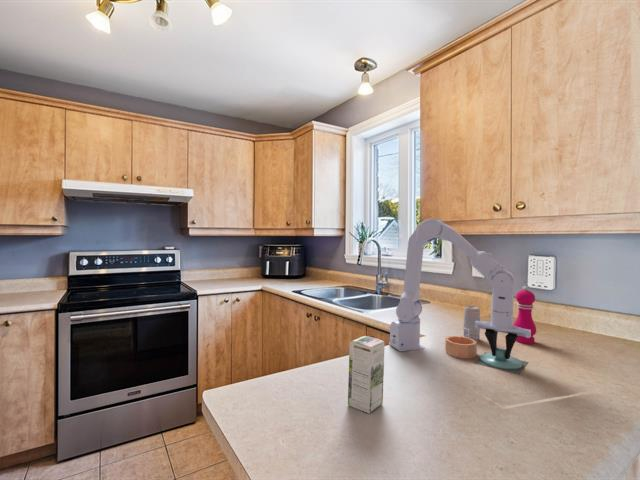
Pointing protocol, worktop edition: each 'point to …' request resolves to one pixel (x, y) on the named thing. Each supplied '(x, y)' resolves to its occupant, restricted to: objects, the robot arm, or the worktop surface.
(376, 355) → the syrup box
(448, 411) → the worktop surface
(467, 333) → the energy drink
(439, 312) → the worktop surface
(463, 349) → the bowl
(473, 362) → the mat
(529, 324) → the pepper mill
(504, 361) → the cover
